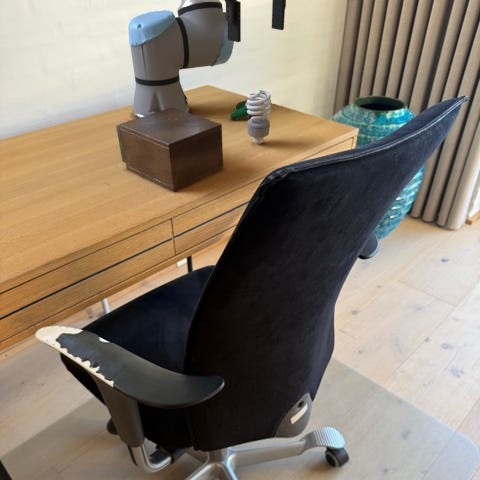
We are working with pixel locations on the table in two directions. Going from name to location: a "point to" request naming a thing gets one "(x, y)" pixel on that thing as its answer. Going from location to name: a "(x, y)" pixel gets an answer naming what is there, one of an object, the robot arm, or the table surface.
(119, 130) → the drawer
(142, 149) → the cabinet
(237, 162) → the table surface
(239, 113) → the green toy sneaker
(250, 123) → the light bulb
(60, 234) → the table surface
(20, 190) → the table surface
